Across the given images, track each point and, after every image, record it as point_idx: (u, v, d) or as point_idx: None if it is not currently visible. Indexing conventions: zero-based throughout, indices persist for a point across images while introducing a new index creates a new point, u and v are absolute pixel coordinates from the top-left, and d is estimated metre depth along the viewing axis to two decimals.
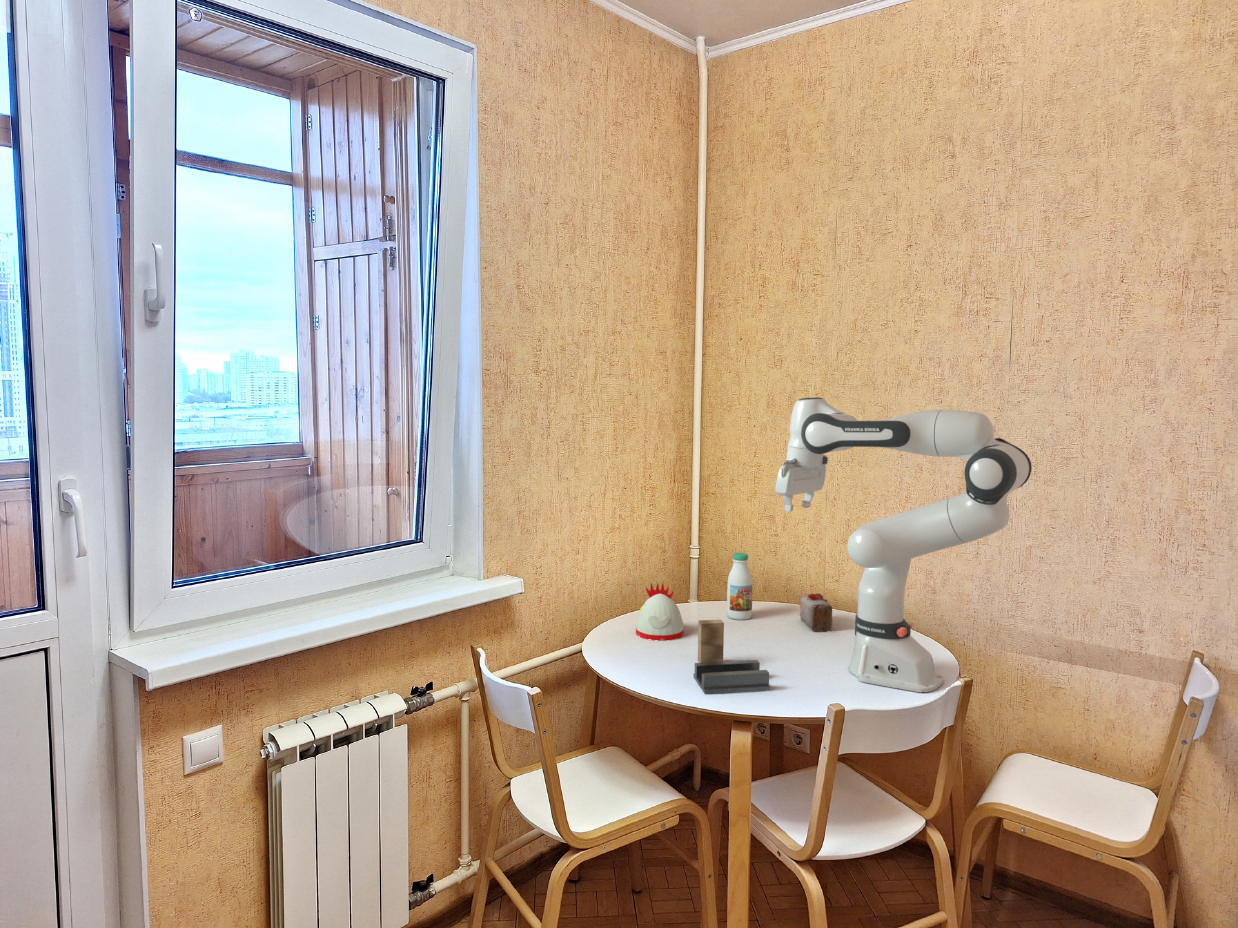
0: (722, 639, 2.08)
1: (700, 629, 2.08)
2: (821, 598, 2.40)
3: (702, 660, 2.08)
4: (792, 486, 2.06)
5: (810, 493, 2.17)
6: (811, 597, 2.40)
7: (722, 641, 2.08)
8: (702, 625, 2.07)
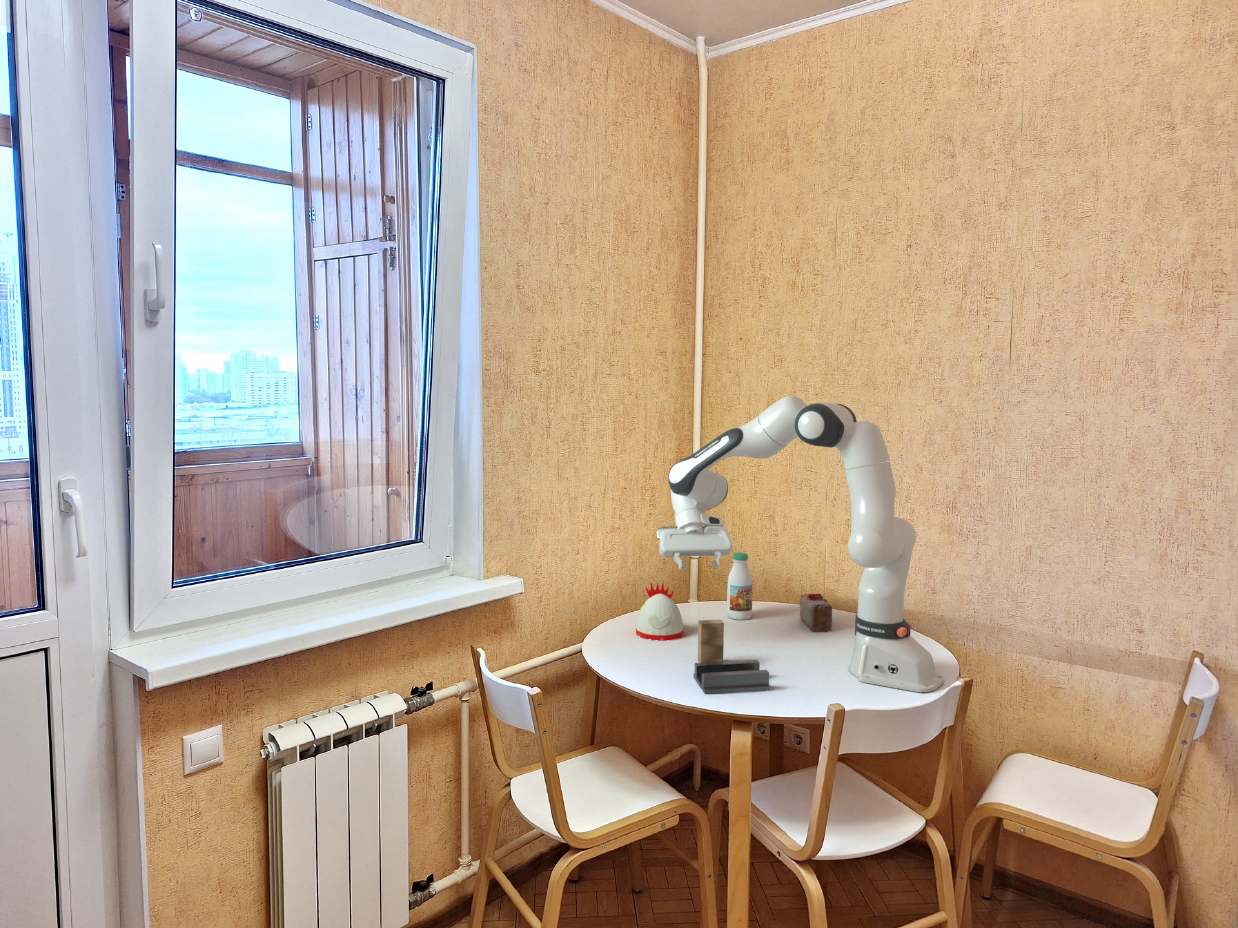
0: (722, 639, 2.08)
1: (700, 629, 2.08)
2: (821, 598, 2.40)
3: (702, 660, 2.08)
4: (669, 543, 2.22)
5: (715, 554, 2.23)
6: (811, 597, 2.40)
7: (722, 641, 2.08)
8: (702, 625, 2.07)
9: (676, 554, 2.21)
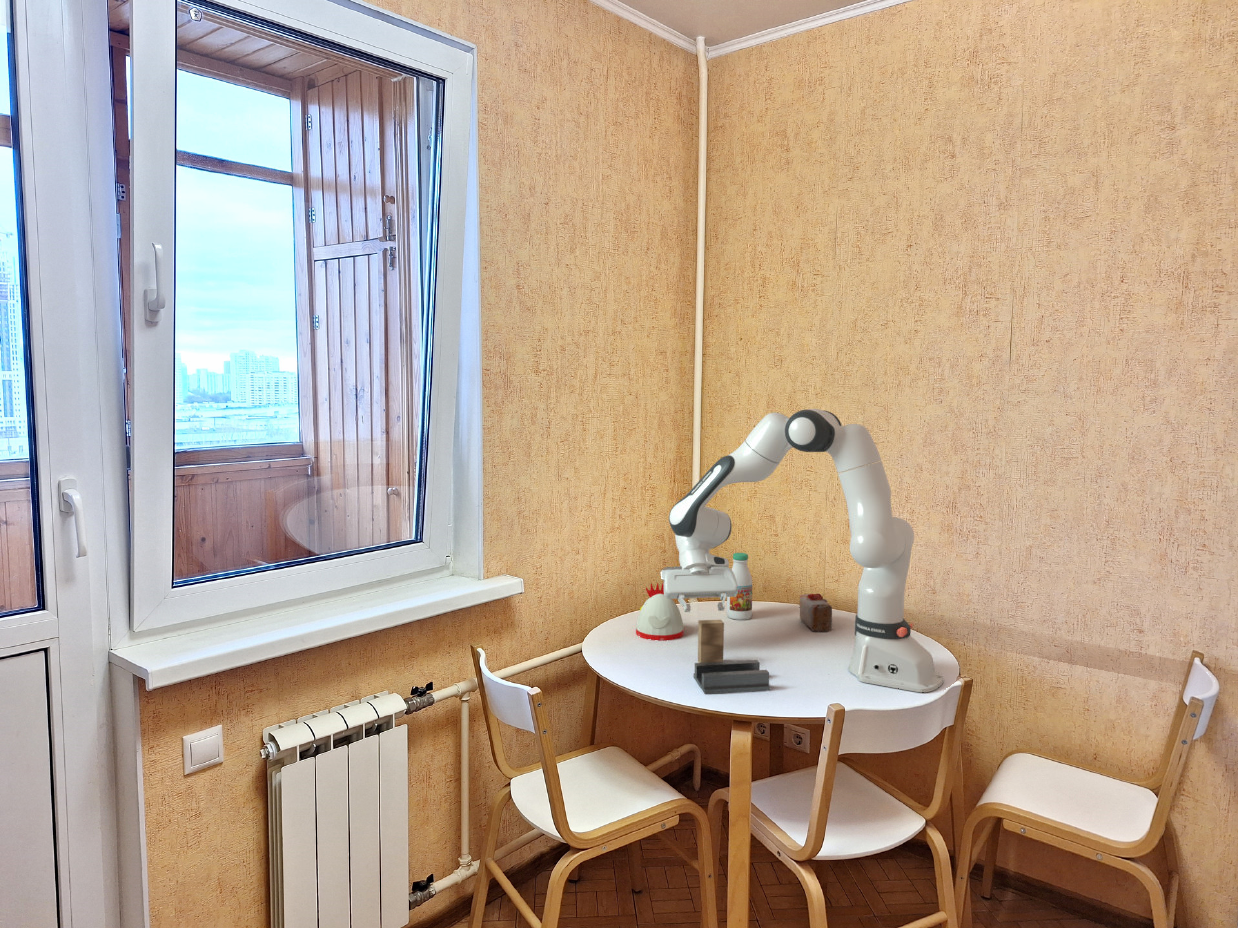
0: (722, 639, 2.08)
1: (700, 629, 2.08)
2: (821, 598, 2.40)
3: (702, 660, 2.08)
4: (673, 584, 2.17)
5: (721, 595, 2.18)
6: (811, 597, 2.40)
7: (722, 641, 2.08)
8: (702, 625, 2.07)
9: (681, 596, 2.16)
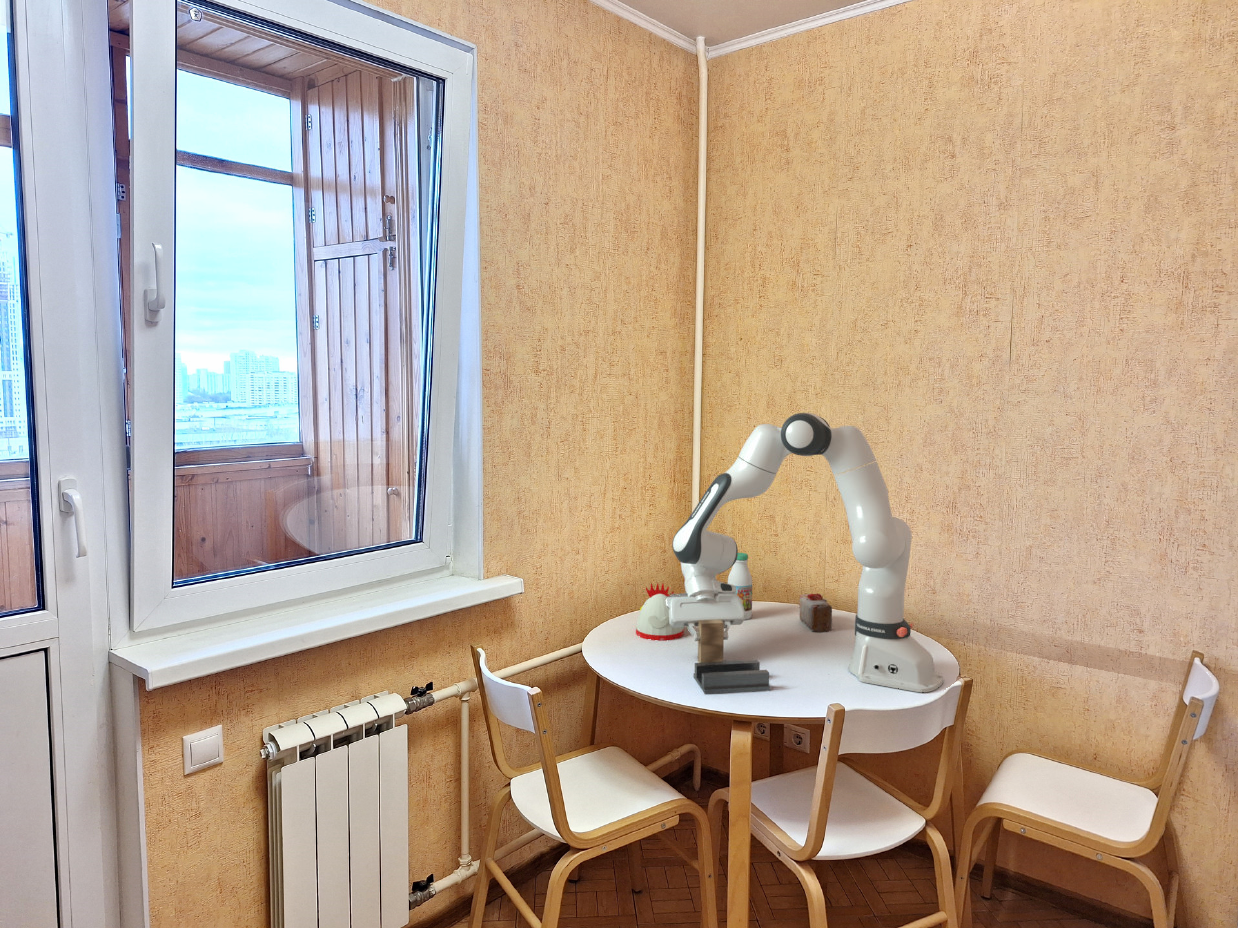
0: (722, 639, 2.08)
1: (700, 629, 2.08)
2: (821, 598, 2.40)
3: (702, 660, 2.08)
4: (679, 613, 2.11)
5: (724, 623, 2.11)
6: (811, 597, 2.40)
7: (722, 641, 2.08)
8: (702, 625, 2.07)
9: (690, 625, 2.10)
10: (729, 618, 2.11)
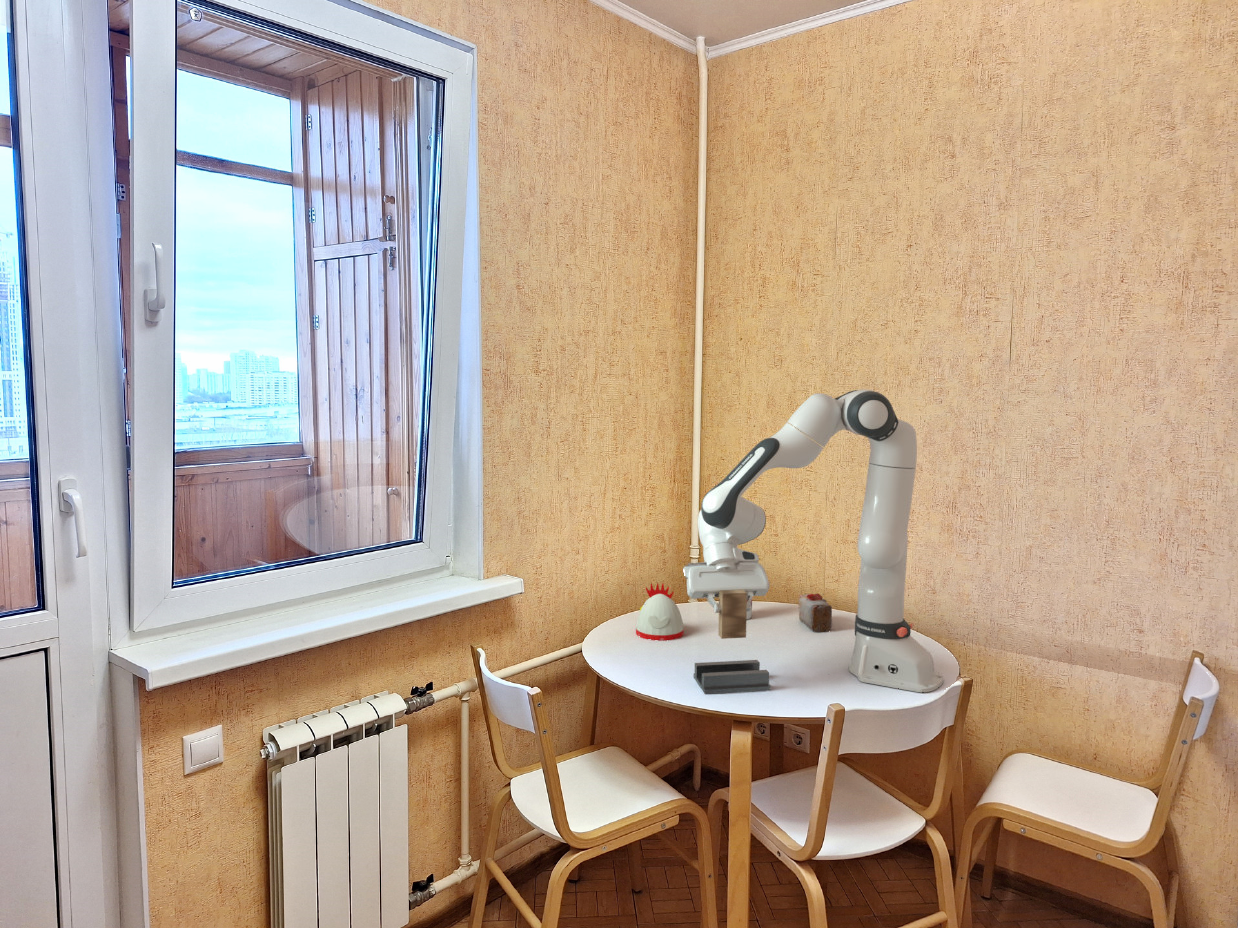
0: (745, 610, 1.93)
1: (721, 599, 1.92)
2: (820, 598, 2.40)
3: (723, 633, 1.92)
4: (698, 582, 1.95)
5: (747, 594, 1.96)
6: (810, 597, 2.40)
7: (745, 612, 1.93)
8: (723, 595, 1.91)
9: (710, 595, 1.94)
10: (752, 588, 1.96)
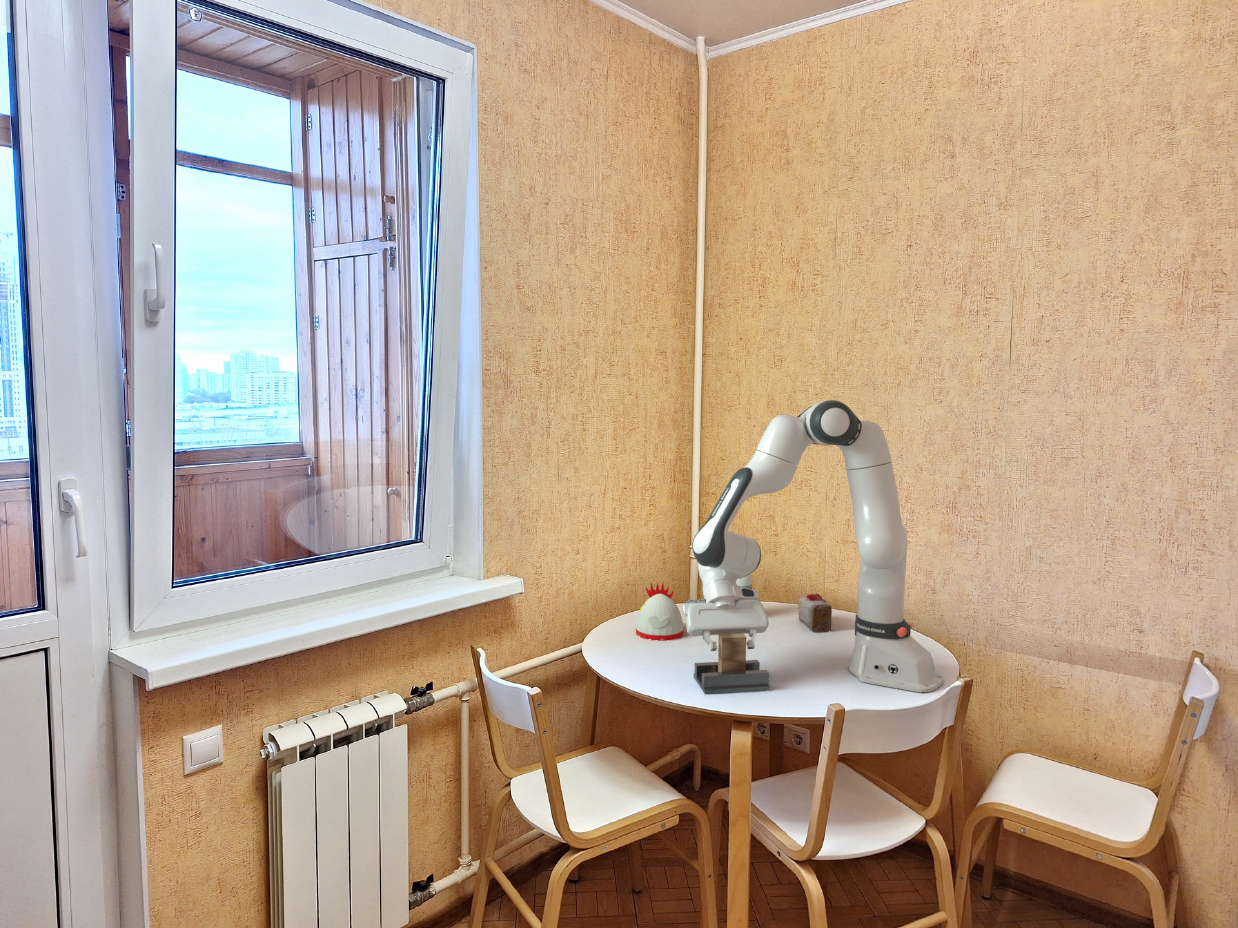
0: (744, 654, 1.94)
1: (721, 644, 1.93)
2: (820, 598, 2.40)
3: None
4: (698, 620, 1.96)
5: (750, 632, 1.97)
6: (810, 597, 2.40)
7: (744, 657, 1.94)
8: (722, 640, 1.92)
9: (706, 633, 1.95)
10: (751, 626, 1.97)
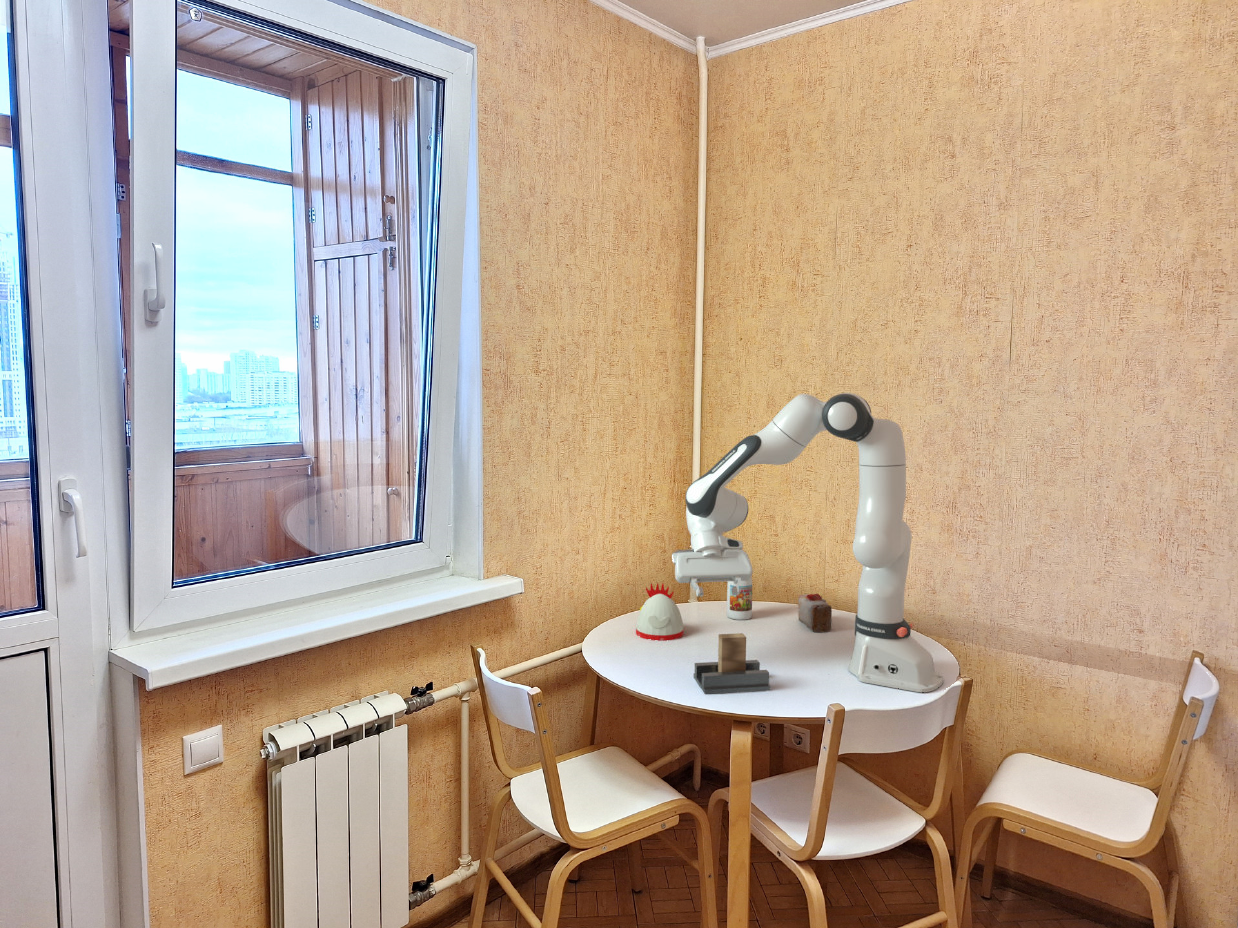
0: (744, 654, 1.94)
1: (721, 644, 1.93)
2: (820, 598, 2.40)
3: None
4: (685, 568, 2.07)
5: (735, 579, 2.08)
6: (810, 597, 2.40)
7: (744, 657, 1.94)
8: (722, 640, 1.92)
9: (693, 580, 2.06)
10: (736, 573, 2.08)
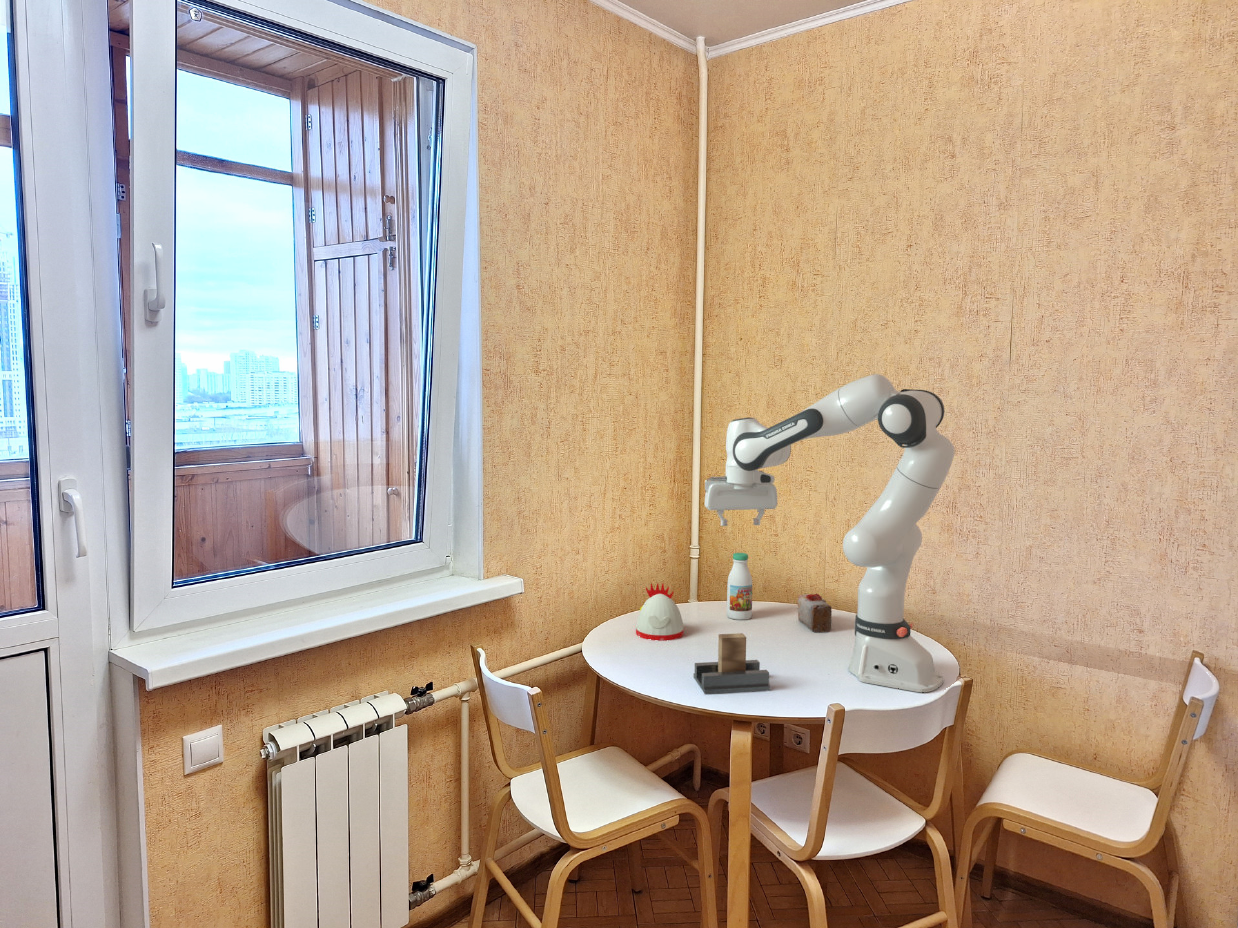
0: (744, 654, 1.94)
1: (721, 644, 1.93)
2: (820, 598, 2.40)
3: None
4: (715, 501, 2.21)
5: (759, 511, 2.24)
6: (810, 598, 2.40)
7: (744, 657, 1.94)
8: (722, 640, 1.92)
9: (720, 512, 2.22)
10: (761, 508, 2.23)
